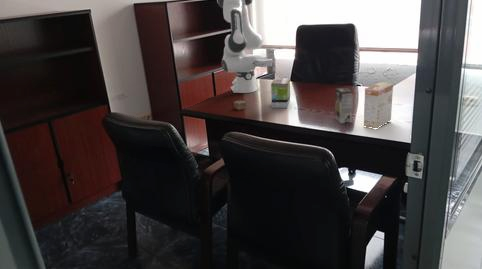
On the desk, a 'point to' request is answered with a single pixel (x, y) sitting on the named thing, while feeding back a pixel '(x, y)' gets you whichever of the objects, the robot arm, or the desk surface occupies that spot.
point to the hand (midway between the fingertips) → (272, 59)
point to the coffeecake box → (378, 104)
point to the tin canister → (272, 69)
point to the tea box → (280, 92)
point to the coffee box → (343, 105)
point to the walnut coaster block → (240, 105)
